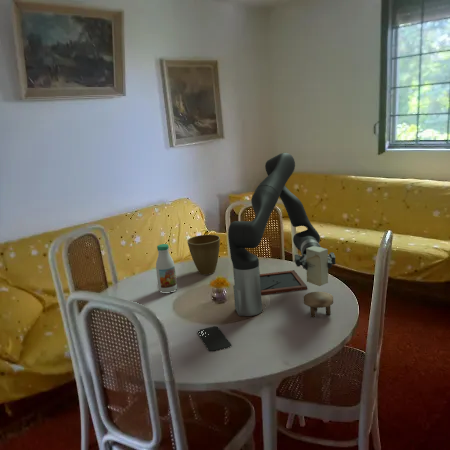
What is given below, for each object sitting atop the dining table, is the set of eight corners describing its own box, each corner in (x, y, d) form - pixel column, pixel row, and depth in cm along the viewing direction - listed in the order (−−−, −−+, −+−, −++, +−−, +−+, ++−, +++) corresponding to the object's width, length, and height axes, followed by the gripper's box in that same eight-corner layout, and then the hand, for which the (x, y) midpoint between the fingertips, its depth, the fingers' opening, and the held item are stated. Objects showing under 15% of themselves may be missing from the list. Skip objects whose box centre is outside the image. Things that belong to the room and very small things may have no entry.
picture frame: (245, 298, 174) (307, 290, 176) (244, 293, 173) (307, 285, 175) (238, 280, 193) (294, 273, 195) (237, 276, 193) (294, 269, 195)
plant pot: (194, 267, 214) (190, 235, 210) (224, 266, 211) (222, 233, 208) (187, 278, 199) (183, 244, 195) (220, 277, 197) (217, 242, 193)
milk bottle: (155, 293, 185) (149, 247, 180) (164, 286, 192) (159, 242, 187) (171, 295, 182) (166, 248, 177) (180, 287, 189) (175, 242, 184)
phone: (209, 351, 134) (196, 330, 148) (209, 353, 135) (196, 332, 149) (232, 345, 137) (217, 325, 151) (232, 347, 137) (217, 327, 151)
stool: (310, 321, 148) (310, 305, 147) (299, 310, 158) (299, 294, 156) (338, 317, 150) (338, 300, 149) (326, 305, 160) (325, 289, 158)
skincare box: (306, 282, 153) (304, 248, 150) (315, 278, 156) (313, 245, 153) (320, 286, 148) (319, 252, 145) (329, 282, 151) (328, 248, 148)
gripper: (291, 243, 164) (295, 257, 148) (331, 240, 163) (339, 254, 147) (292, 262, 166) (296, 278, 150) (331, 259, 164) (340, 275, 148)
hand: (318, 266), depth 148 cm, fingers closed on skincare box, 7 cm apart
